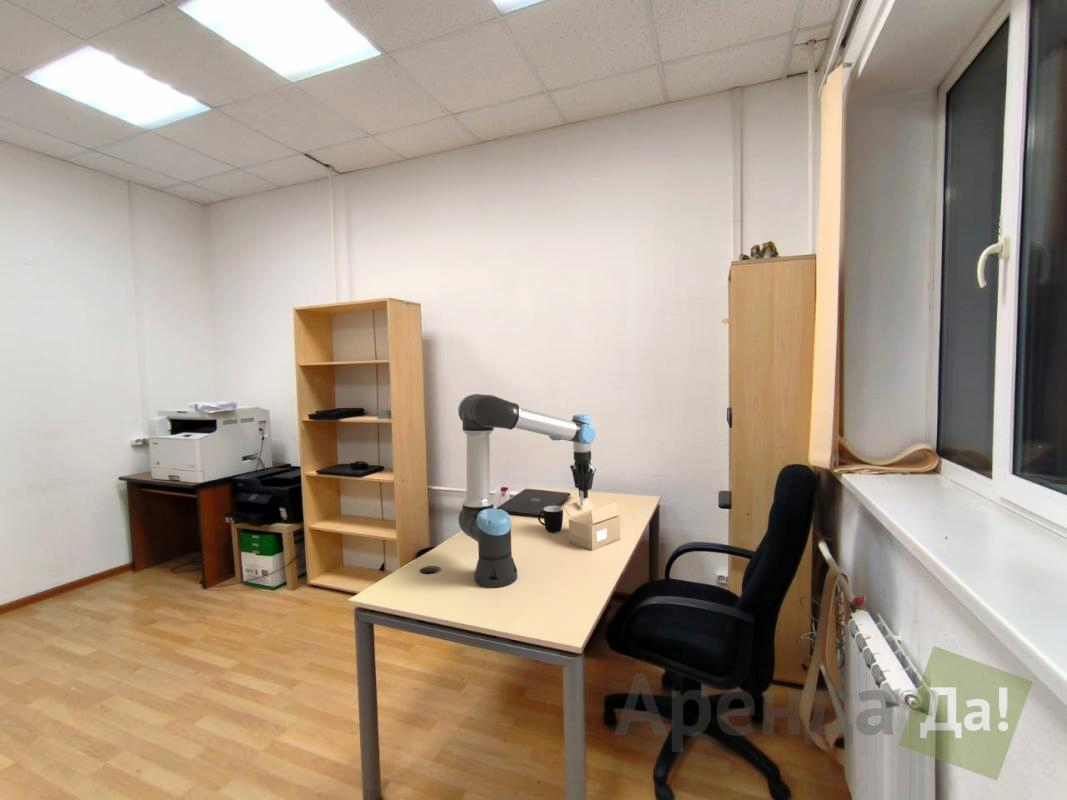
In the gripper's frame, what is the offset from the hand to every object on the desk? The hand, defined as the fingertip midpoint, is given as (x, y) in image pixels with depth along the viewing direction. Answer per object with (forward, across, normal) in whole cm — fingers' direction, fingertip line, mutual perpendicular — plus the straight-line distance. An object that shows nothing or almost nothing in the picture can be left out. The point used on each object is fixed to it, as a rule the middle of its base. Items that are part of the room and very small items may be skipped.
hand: (583, 504), depth 201 cm
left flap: (+2, +2, 0) cm, 3 cm away
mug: (+15, +18, +4) cm, 23 cm away
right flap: (+1, -11, 0) cm, 12 cm away
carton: (+14, -6, 0) cm, 15 cm away
